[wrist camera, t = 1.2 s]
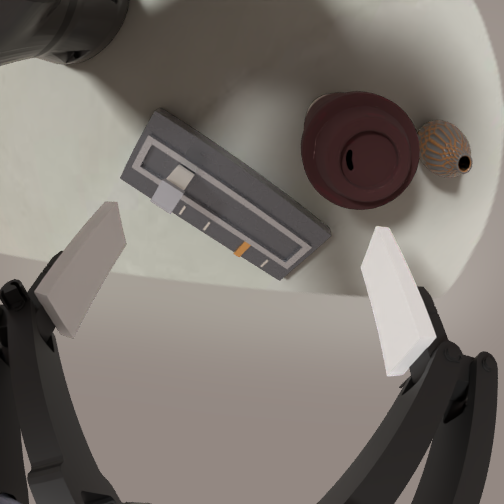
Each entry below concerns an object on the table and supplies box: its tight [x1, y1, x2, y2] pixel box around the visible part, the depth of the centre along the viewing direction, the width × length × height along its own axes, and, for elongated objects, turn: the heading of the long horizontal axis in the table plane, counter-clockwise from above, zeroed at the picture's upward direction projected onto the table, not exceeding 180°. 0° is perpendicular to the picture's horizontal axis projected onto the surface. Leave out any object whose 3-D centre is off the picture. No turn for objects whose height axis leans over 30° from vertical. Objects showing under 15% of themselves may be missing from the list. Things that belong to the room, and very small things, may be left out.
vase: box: [417, 120, 472, 178], centre depth 26 cm, size 7×7×9 cm
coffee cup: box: [301, 91, 420, 210], centre depth 24 cm, size 10×10×15 cm
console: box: [120, 108, 331, 281], centre depth 37 cm, size 28×11×3 cm, turn 53°
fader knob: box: [151, 164, 195, 214], centre depth 32 cm, size 3×3×6 cm
